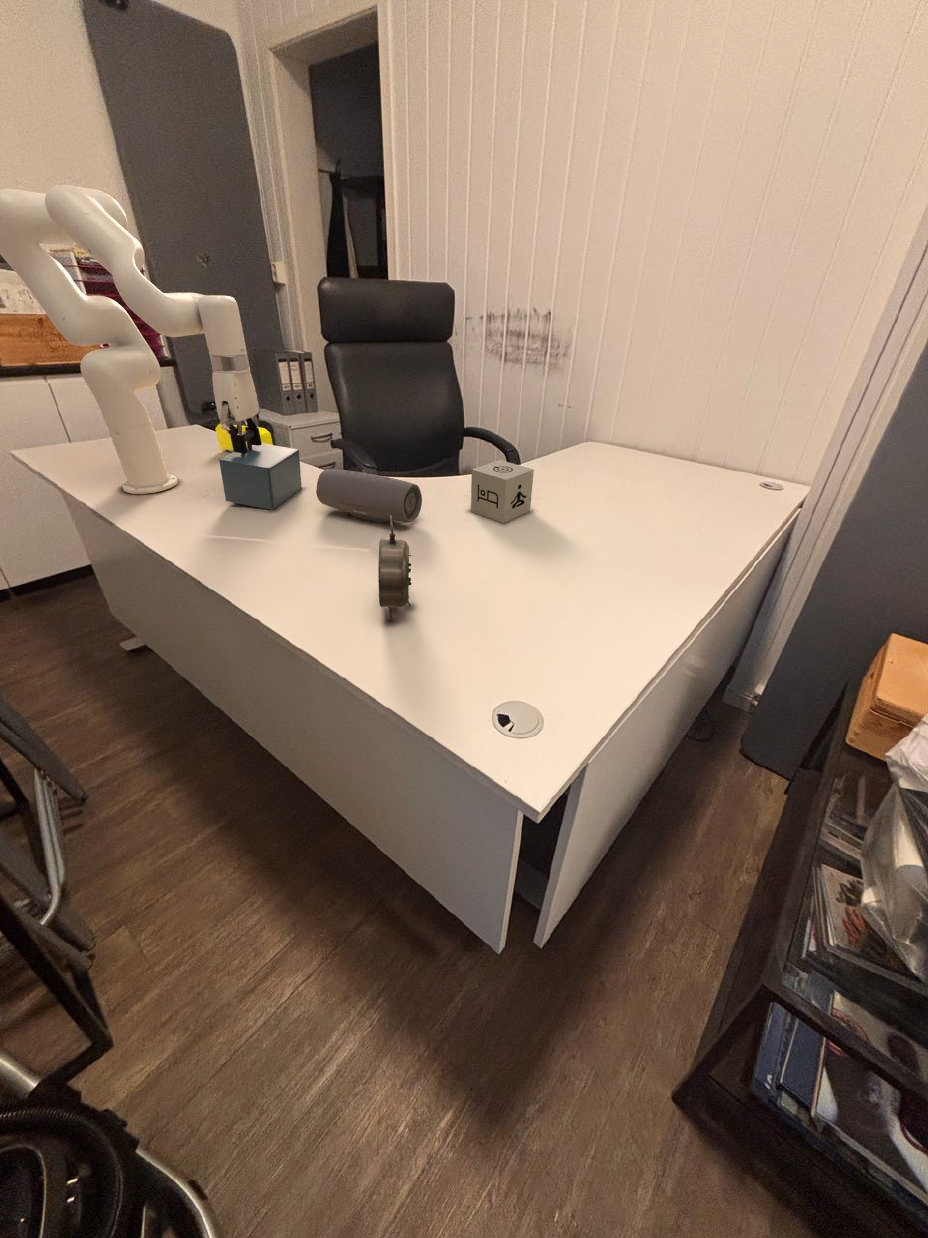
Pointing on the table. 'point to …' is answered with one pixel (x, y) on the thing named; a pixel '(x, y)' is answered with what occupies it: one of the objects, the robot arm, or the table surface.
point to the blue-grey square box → (261, 474)
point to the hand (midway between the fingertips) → (248, 447)
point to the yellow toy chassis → (226, 439)
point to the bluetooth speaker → (369, 495)
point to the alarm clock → (393, 572)
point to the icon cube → (501, 490)
